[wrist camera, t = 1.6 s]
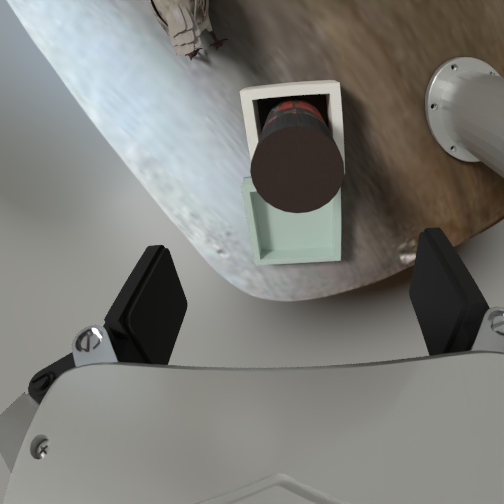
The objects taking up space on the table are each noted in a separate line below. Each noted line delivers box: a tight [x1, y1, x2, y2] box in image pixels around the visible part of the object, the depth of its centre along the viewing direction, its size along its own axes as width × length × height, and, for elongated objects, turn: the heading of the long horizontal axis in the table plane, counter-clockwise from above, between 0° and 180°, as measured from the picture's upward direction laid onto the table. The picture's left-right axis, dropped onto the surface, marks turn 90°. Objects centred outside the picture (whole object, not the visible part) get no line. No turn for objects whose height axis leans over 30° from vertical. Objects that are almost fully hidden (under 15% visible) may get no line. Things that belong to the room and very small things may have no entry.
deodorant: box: [250, 97, 344, 213], centre depth 26 cm, size 6×6×15 cm
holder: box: [240, 80, 345, 174], centre depth 30 cm, size 9×9×4 cm
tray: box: [241, 177, 341, 265], centre depth 37 cm, size 11×11×2 cm
